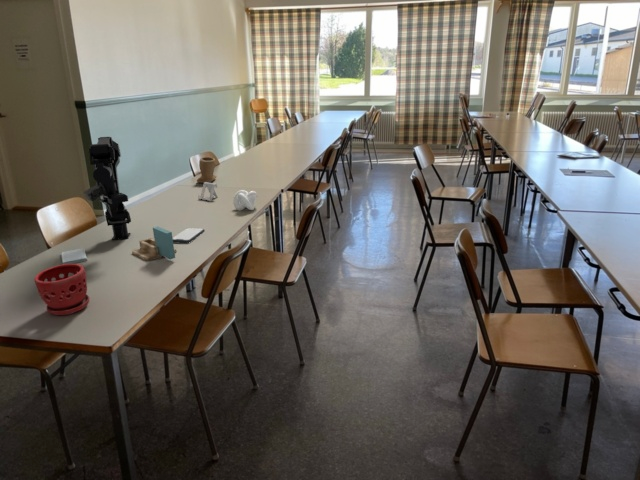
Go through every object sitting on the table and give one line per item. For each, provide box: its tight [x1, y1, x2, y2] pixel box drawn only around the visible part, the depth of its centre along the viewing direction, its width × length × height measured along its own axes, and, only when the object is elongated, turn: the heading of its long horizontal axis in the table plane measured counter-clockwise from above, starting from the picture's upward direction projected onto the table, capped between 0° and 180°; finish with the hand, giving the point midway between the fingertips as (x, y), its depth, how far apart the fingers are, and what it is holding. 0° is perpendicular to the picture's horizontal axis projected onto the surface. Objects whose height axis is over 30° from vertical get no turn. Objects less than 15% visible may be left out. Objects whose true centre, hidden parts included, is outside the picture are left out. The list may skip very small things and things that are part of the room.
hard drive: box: [60, 248, 88, 265], centre depth 183 cm, size 2×8×12 cm
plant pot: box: [33, 263, 91, 316], centre depth 142 cm, size 13×13×12 cm
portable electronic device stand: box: [197, 182, 219, 202], centre depth 258 cm, size 9×8×8 cm
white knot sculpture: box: [232, 189, 258, 211], centre depth 237 cm, size 11×12×9 cm
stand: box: [131, 237, 178, 262], centre depth 185 cm, size 12×12×4 cm
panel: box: [152, 226, 176, 260], centre depth 178 cm, size 10×2×10 cm, turn 46°
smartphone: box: [172, 227, 205, 244], centre depth 203 cm, size 9×2×16 cm
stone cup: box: [196, 156, 217, 184], centre depth 296 cm, size 15×12×15 cm
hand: (113, 217), depth 187 cm, fingers closed
